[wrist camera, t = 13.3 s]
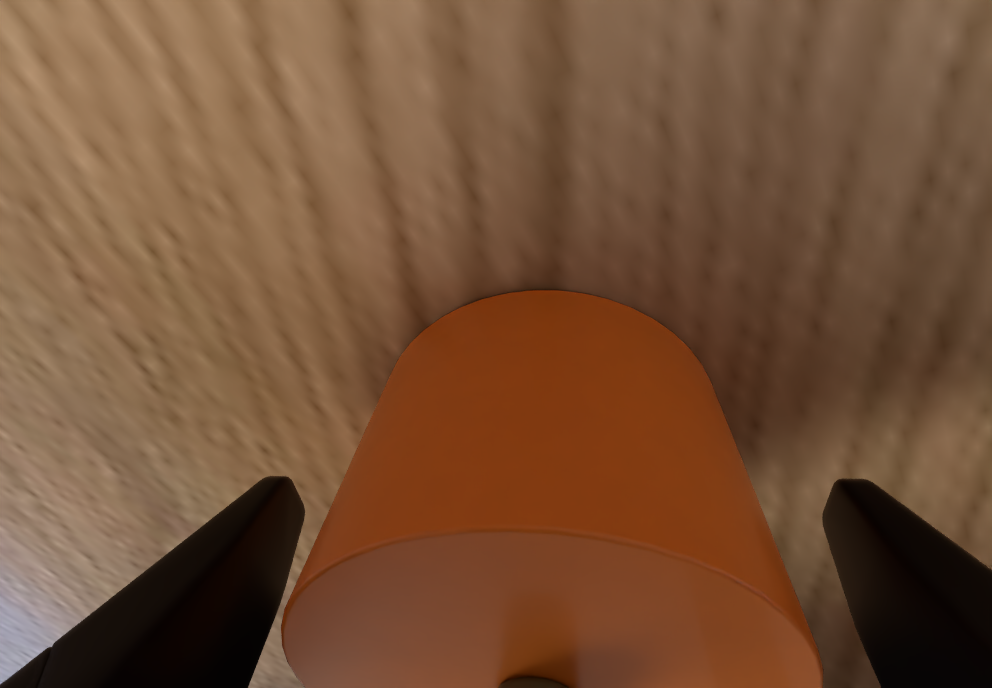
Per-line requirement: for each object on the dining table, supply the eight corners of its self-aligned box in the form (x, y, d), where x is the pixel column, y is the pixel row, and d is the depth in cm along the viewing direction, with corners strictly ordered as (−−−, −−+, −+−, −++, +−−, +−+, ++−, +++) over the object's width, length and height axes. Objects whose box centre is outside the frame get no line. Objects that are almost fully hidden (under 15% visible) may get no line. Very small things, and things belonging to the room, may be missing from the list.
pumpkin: (790, 352, 8) (1072, 778, 4) (630, 561, 12) (673, 911, 7) (416, 239, 8) (222, 565, 3) (365, 492, 11) (237, 816, 7)
